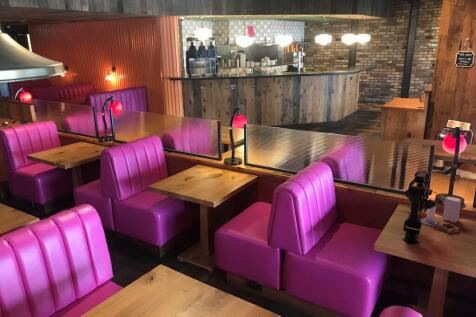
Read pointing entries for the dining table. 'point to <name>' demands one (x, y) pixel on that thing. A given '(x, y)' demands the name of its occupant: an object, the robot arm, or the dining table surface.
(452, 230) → the walnut pocket
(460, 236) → the dining table surface
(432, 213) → the cream shaker
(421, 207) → the coffee mug
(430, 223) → the grey mat
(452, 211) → the skincare box
